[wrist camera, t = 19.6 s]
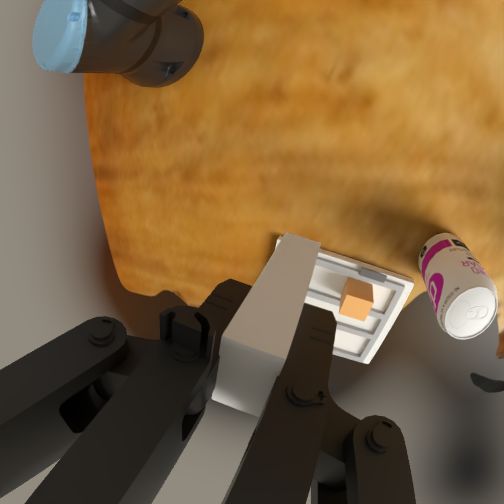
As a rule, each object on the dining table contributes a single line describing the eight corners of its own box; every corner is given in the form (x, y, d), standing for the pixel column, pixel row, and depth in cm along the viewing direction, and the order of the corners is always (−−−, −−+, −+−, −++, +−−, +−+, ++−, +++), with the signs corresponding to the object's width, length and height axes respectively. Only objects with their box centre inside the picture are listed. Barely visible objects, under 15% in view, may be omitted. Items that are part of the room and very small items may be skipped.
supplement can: (416, 282, 40) (434, 346, 27) (418, 232, 37) (445, 284, 24) (461, 279, 37) (491, 339, 24) (466, 229, 34) (508, 279, 21)
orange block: (340, 295, 43) (338, 313, 39) (348, 276, 42) (347, 294, 37) (364, 302, 42) (364, 321, 38) (372, 284, 41) (373, 302, 37)
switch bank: (257, 324, 53) (253, 332, 51) (280, 234, 44) (276, 240, 42) (368, 359, 48) (367, 368, 46) (413, 277, 40) (416, 286, 38)
